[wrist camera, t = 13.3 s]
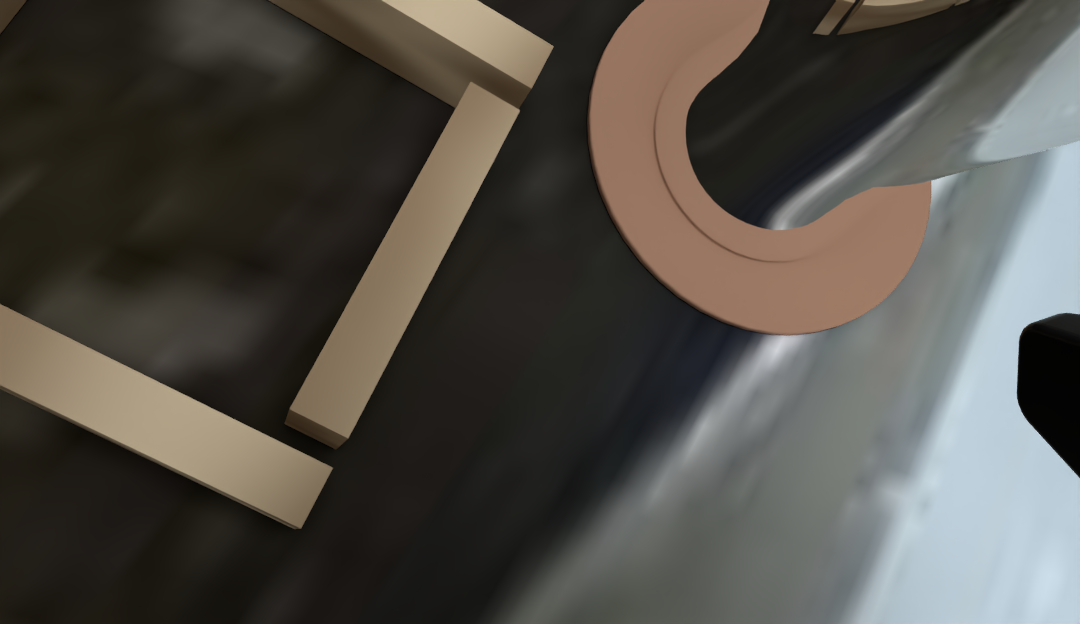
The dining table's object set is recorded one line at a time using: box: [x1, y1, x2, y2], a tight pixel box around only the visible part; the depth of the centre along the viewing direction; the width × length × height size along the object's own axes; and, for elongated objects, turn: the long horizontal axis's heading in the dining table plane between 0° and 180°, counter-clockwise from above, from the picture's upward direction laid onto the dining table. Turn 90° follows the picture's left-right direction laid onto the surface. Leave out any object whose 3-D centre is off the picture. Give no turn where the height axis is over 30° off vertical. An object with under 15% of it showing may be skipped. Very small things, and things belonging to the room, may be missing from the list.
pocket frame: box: [0, 0, 554, 529], centre depth 19 cm, size 11×11×2 cm
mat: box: [587, 0, 931, 335], centre depth 24 cm, size 10×10×1 cm
